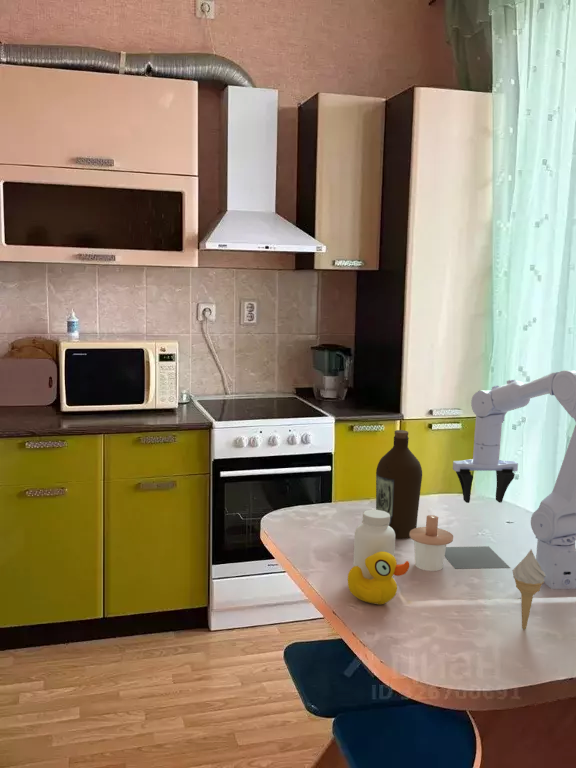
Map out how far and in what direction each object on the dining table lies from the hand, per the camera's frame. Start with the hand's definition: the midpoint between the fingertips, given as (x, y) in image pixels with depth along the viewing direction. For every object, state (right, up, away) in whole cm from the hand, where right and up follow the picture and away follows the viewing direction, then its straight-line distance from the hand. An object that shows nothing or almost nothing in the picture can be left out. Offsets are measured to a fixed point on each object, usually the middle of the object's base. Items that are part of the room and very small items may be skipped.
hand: (482, 501), depth 171 cm
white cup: (-15, -12, -13) cm, 23 cm away
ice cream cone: (-3, -17, -38) cm, 42 cm away
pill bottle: (-28, -14, -22) cm, 38 cm away
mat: (-4, -12, -8) cm, 15 cm away
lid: (-14, -5, -14) cm, 21 cm away
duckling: (-28, -15, -29) cm, 43 cm away
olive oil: (-19, -9, +6) cm, 22 cm away
